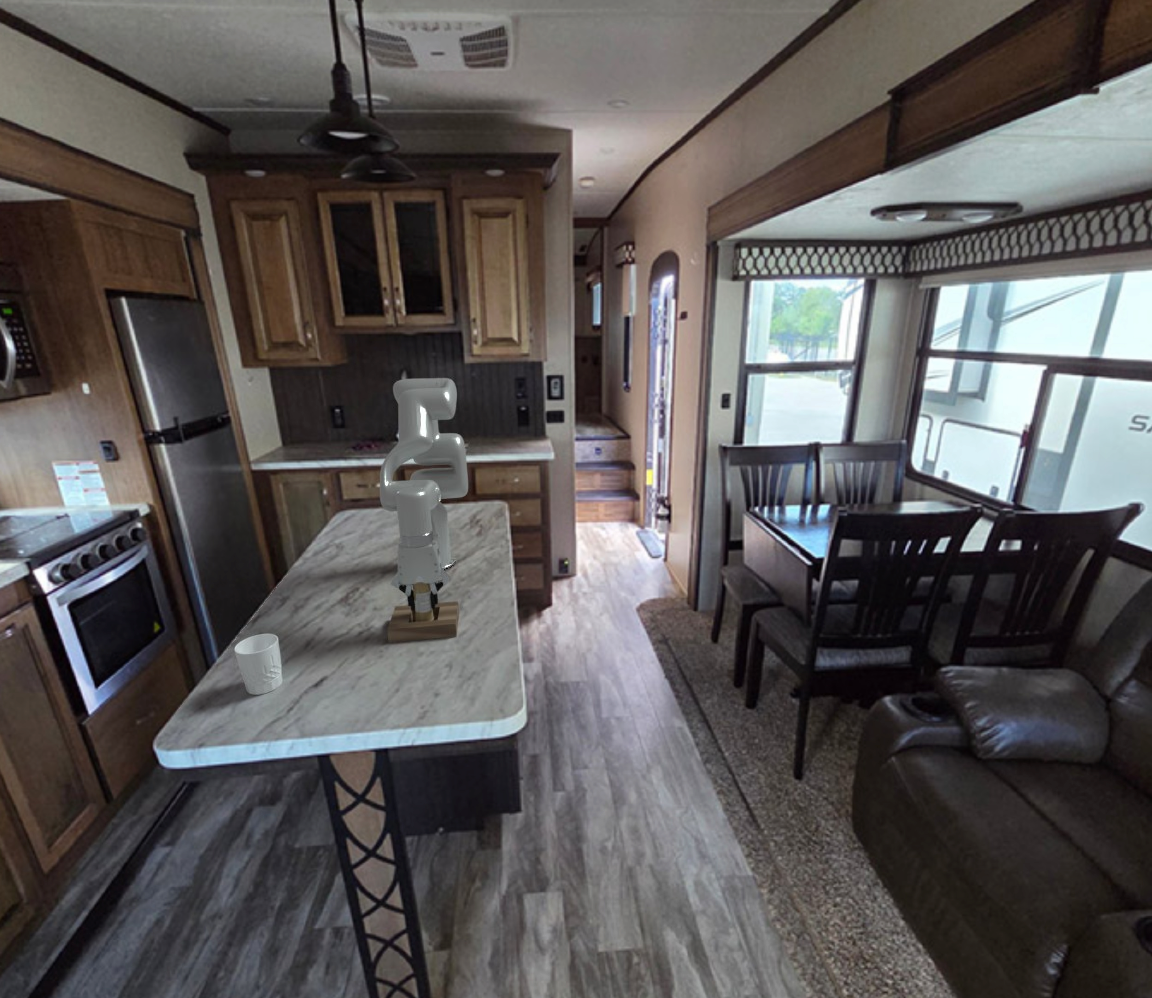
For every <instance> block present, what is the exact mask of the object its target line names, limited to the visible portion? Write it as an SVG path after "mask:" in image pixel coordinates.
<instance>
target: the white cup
mask: <svg viewBox="0 0 1152 998" xmlns="http://www.w3.org/2000/svg"><path fill="white" fill-rule="evenodd" d="M279 643H280V642H279V637H278V636H277V635H275V634H274V633H262V634H256V635H255V634H254V635H252V636H249V637H246V638H245V639H243V640H240V641H239V642H238V643H237V644H236V645H235V647H234V649H233V650H234V654H235V657H236V661H237V664H238V668H239V672H240V675H241V677H242V680H243V683H244V687H245V690H246V692H247V693H248V694H249V695H254V696H258V695H264V694H267V693H271V692H273V691H275V690H276V689H277V688H279V687H280V686H281V685H282V683H283V682H284V681H283V680H284V679H283V672H282V670H283V668H282V667H283V665H282V656H281V650H280V644H279Z"/></svg>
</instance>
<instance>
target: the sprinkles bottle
mask: <svg viewBox="0 0 1152 998" xmlns="http://www.w3.org/2000/svg"><path fill="white" fill-rule="evenodd" d="M415 582H417V583H416V584H415V585H412V590H413V597H414V607H415V614H416V621H415V622H423V621H435V620H434V616H433V609H432V605H431V591H432V590H431V587H430V584H425V583H423V582H424V580H423V578H422V577H421V576H418V577H417V578H416V581H415Z"/></svg>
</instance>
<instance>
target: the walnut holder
mask: <svg viewBox="0 0 1152 998" xmlns="http://www.w3.org/2000/svg"><path fill="white" fill-rule="evenodd" d="M459 607H460V606H459V601H458V600H456V601H443V602H438V604H436V606H435V609H433V616H434V620H433V621H423V622H416V614H415V609H414V611H411V606H408V604H406V605H395V607H394V610H393V612H392V614H391V619H390V621H389V624H388V625H387V629H386V631H387V640H388V643H398V642H399V643H400V642H410V641H420V640H431V639H441V638H442V639H443V638H445V639H446V638H451V637H452V638H453V637H455V638H456V637H457V636H458V628H459V627H458V626H459V619H460V618H459V617H460V608H459Z"/></svg>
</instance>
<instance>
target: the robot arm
mask: <svg viewBox="0 0 1152 998" xmlns="http://www.w3.org/2000/svg"><path fill="white" fill-rule="evenodd" d="M392 392H393V396H394V399H395V400H396V402H397V404H398V405H397V406H398V407H397V409H398V411H397V413H398V420H397V421H398V443H397V444H396V445H395V446H394V447H393V448H392V449H391V450H390V452H389V453H388V454H387V456H385V459H384V460H383V462H382V465H381V467H380V472H379V473H380V474H379V500H380V503H381V506H382V508H383V509H384V510H386V511H387V512H397V513H396V514H397V523H398V531H399V539H400V540H399V541H400V543H399V544H398V546H397V572H396V574H395V575H394V577H393V578H392V580H391V581H390V586H392V587H394V588H396V589H398V590H399V591H401V592H402V593H403V594H404V595H405V596H406V598H407V605H408V606H411V611H414V609H415V607H414V597H413V585H415V584H416V583H417V582H415V581H416V578H417V577H418V576H421V577H422V578H423V580H424V582H423V583H425V584H430V587H431V605H432V609H435V606H436V604H438V603H439V597H438V595H439V594H438V592H439V591H440V590H441V589H442V588H443V586H445V585H446V584H448V583H449V582H450V581H451V576H450V575H449V574H448V572H447V571H446V569H445V570H444V569H443V568H446V567H448V566H450V565H452V564H453V563H454V562H455V561H456V562H457V558H456V557H455V558H451V555H452V554H451V544H450V543H451V540H450V528H449V519H448V511H447V508H446V507H445V505H444V504H443V503H442V502H441V500H442V499H443V500H444V499H457V498H463V497H465V496H466V495H467V494H468V492H469V478H468V477H469V476H468V475H469V474H468V466H467V465H468V463H467V454H466V453H467V452H466V446H465V441H464V438H463V436H462V435H461V434H458V433H453V432H452V433H451V432H447V433H440V429H439V421H442V420H443V421H444V420H445V421H446V420H452V419H453V418H454V416H455V414H456V411H457V402H458V401H457V398H458V392H457V387H456V383H455V382H454V381H453V379H451V378H449V377H436V378H430V377H429V378H423V377H422V378H405V379H399V380H396V382H395V383H394V384H393V386H392ZM412 459H413V461H414V463H415V464H417V465H419V466H443V465H445V466H446V465H448V466H450V467H440V468H439V467H435V468H423V469H419V470H415V471H414V472H412V474H410V475H411V476H410V478H409V480H396V481H395V480H393V477H394V474H395V473H396V471H397V469H399V467H400V466H402V465H403V464H404V463H406V462H409V461H410V460H412ZM451 559H456V560H454V561H453V560H451ZM450 563H451V564H450Z"/></svg>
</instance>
